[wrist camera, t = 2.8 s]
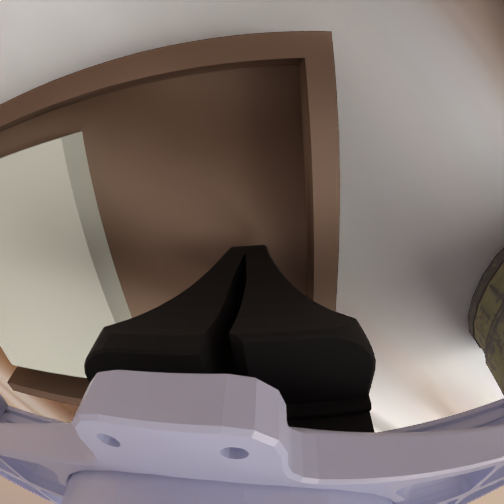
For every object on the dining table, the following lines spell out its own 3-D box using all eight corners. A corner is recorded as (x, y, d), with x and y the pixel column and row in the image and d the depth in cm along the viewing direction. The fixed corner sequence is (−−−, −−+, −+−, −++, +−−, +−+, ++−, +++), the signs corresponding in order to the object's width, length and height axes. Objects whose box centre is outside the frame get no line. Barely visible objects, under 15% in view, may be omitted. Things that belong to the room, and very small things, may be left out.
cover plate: (150, 363, 16) (142, 383, 15) (22, 350, 17) (12, 364, 16) (82, 131, 11) (61, 137, 9) (-48, 178, 11) (-66, 188, 10)
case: (318, 373, 17) (323, 416, 14) (31, 361, 19) (13, 390, 16) (315, 46, 10) (331, 31, 7) (-53, 146, 11) (-88, 161, 9)
